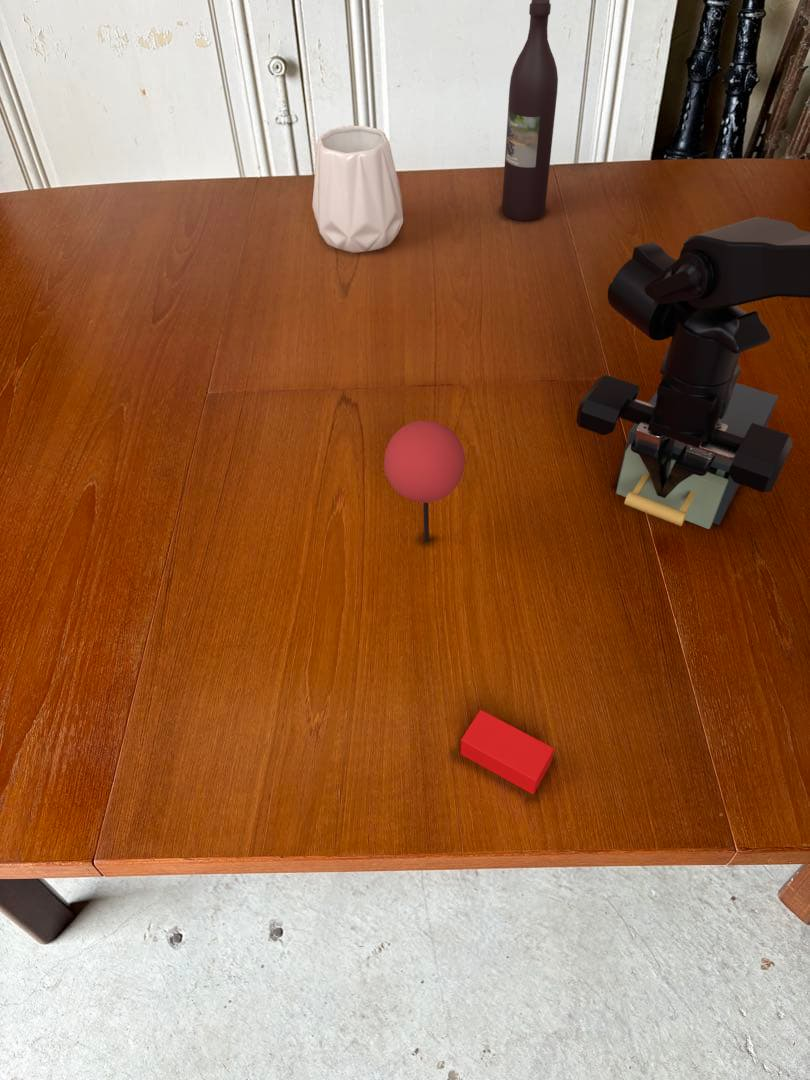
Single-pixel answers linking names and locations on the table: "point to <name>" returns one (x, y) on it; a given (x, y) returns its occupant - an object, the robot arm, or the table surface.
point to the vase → (356, 189)
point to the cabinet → (730, 430)
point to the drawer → (672, 493)
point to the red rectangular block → (506, 751)
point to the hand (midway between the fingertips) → (662, 494)
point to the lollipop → (424, 463)
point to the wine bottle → (530, 121)
